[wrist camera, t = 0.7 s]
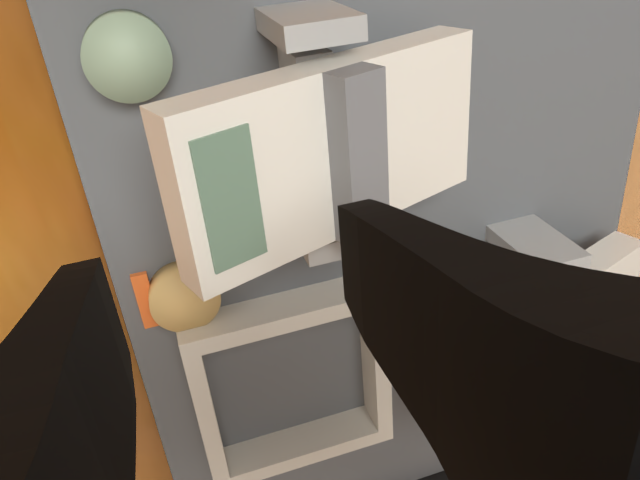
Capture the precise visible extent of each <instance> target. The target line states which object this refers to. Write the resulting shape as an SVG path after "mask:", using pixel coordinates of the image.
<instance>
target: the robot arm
mask: <svg viewBox="0 0 640 480" xmlns="http://www.w3.org/2000/svg"><path fill="white" fill-rule="evenodd" d="M337 207H338V220H339V233H340V246H341V259H342V273H343V286H344V299H345V301H346V303H347V306H348V308H349V310H350V312H351V315H352V317H353V319H354V321H355V324H356V326H357V328H358V330H359V332H360V334H361V336H362V338H363V340H364V342H365V344H366V345H367V347H368V349H369V350H370V352H371V353H372V355H373V357H374V358H375V360H376V361H377V363H378V364H379V366H380V367H381V369H382V371H383V372H384V374H385V375H386V377H387V378H388V380H389V381H390V383H391V384H392V386H393V387H394V389H395V391H396V392H397V394H398V395H399V397H400V398H401V400H402V401H403V403H404V404H405V406H406V407H407V409H408V410H409V412H410V414H411V415H412V417H413V418H414V420H415V421H416V423H417V424H418V426H419V427H420V429H421V430H422V432H423V433H424V435H425V437H426V439H427V440H428V442H429V444H430V445H431V447H432V449H433V450H434V452H435V454H436V456H437V458H438V460H439V462H440V464H441V466H442V467H443V469H444V471H445V473H446V475H447V477H448V479H449V480H640V277H636V276H630V275H624V274H618V273H612V272H605V271H599V270H593V269H588V268H583V267H578V266H573V265H568V264H564V263H560V262H555V261H551V260H547V259H543V258H539V257H535V256H531V255H527V254H523V253H520V252H516V251H513V250H509V249H506V248H503V247H500V246H497V245H494V244H491V243H488V242H485V241H482V240H478V239H475V238H473V237H470V236H467V235H464V234H462V233H459V232H456V231H454V230H451V229H448V228H446V227H443V226H441V225H438V224H435V223H433V222H430V221H428V220H425V219H423V218H420V217H418V216H415V215H413V214H411V213H408V212H406V211H403V210H401V209H398V208H396V207H393V206H390V205H388V204H385V203H382V202H379V201H376V200H372V199H366V200H361V201H356V202H352V203H347V204H343V205H338V206H337ZM135 465H136V398H135V389H134V380H133V372H132V364H131V357H130V352H129V348H128V345H127V342H126V339H125V336H124V332H123V329H122V326H121V323H120V320H119V316H118V313H117V310H116V307H115V304H114V300H113V297H112V294H111V291H110V288H109V284H108V281H107V278H106V275H105V271H104V268H103V265H102V262H101V259H100V257H99V258H95V259H90V260H86V261H81V262H76V263H72V264H67V265H63V266H61V267H60V268H59V269H58V271H57V272H56V273H55V274H54V276H53V277H52V278H51V280H50V281H49V282H48V284H47V285H46V286H45V288H44V289H43V290H42V292H41V293H40V295H39V296H38V297H37V299H36V300H35V301H34V303H33V304H32V305H31V306H30V308H29V309H28V310H27V312H26V313H25V314H24V315H23V317H22V318H21V319H20V320H19V322H18V323H17V324H16V326H15V327H14V328H13V329H12V331H11V332H10V333H9V334H8V336H7V337H6V338H5V339H4V340H3V341H2V342H1V344H0V480H135Z"/></svg>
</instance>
